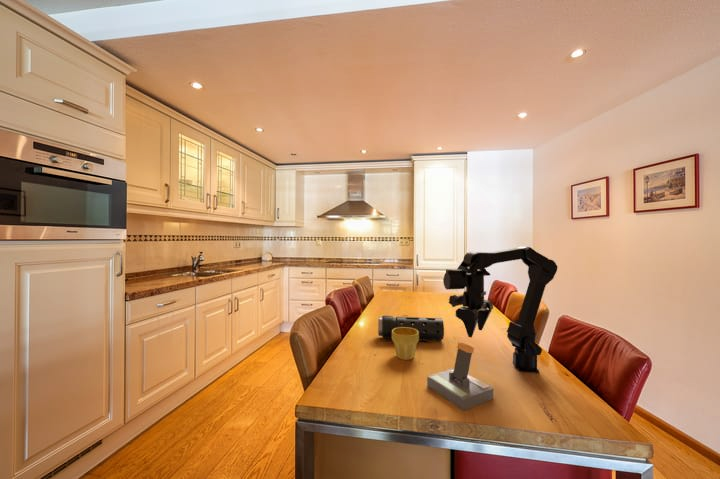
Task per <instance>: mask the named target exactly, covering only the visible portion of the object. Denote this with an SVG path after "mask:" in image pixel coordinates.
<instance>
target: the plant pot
mask: <svg viewBox="0 0 720 479" xmlns="http://www.w3.org/2000/svg"><path fill="white" fill-rule="evenodd" d="M391 340H392V342H393V345H394V349H395V354H396V357H397V358H398V359H400V360H405V361H409V360H412V359H414V358H415V355H416V354H415V353H416V349H417V345H418V342H419V341H420V340H419V332H418V330H416V329H414V328H409V327H398V328H394V329H393V330H392V338H391Z"/></svg>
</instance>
